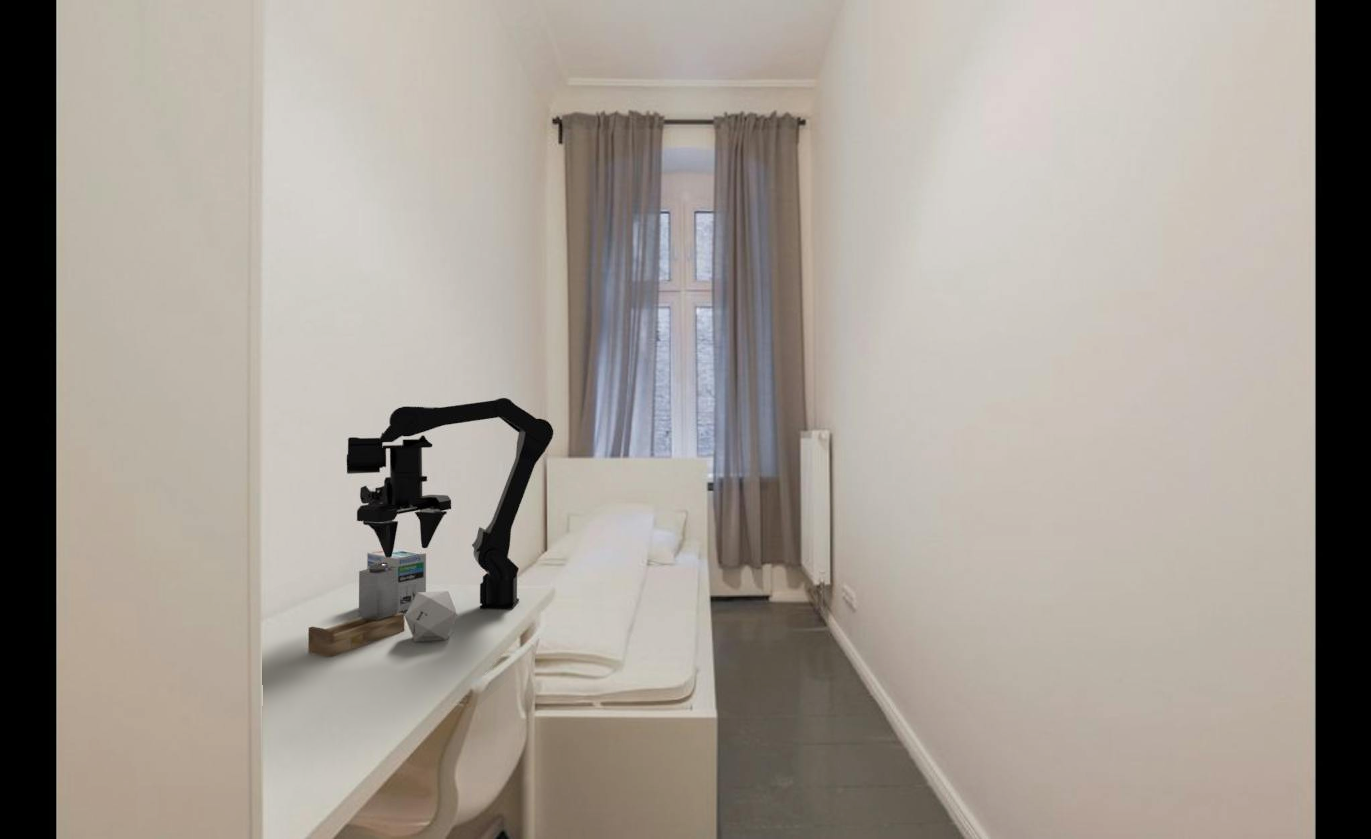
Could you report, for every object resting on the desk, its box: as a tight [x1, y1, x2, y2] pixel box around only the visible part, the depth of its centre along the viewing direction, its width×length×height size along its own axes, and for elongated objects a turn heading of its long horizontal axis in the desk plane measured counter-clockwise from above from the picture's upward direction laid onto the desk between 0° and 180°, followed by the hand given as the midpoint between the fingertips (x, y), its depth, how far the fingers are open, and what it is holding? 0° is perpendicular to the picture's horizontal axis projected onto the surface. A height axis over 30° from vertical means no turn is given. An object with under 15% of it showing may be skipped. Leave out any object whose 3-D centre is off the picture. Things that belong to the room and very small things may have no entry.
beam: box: [307, 612, 406, 658], centre depth 115 cm, size 15×5×4 cm, turn 156°
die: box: [404, 590, 458, 643], centre depth 116 cm, size 8×9×10 cm
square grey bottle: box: [358, 562, 399, 623], centre depth 118 cm, size 4×4×10 cm
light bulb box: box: [366, 547, 427, 613], centre depth 137 cm, size 11×7×11 cm, turn 58°
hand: (407, 552), depth 129 cm, fingers open, 9 cm apart
